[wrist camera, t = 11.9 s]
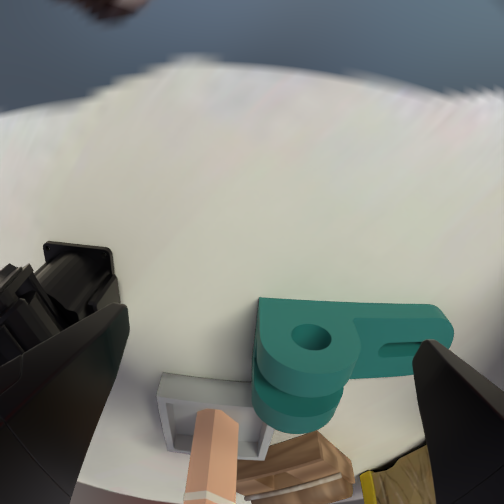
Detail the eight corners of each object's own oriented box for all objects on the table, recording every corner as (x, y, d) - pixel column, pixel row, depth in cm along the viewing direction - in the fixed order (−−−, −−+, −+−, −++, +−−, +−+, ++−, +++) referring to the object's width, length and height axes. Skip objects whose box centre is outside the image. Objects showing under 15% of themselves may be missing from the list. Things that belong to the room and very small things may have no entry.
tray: (171, 430, 32) (167, 450, 29) (162, 372, 27) (156, 396, 25) (263, 439, 32) (264, 460, 30) (279, 384, 28) (280, 408, 25)
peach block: (196, 411, 29) (182, 506, 19) (215, 405, 28) (205, 504, 18) (220, 429, 30) (213, 518, 20) (239, 423, 30) (235, 516, 20)
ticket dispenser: (220, 458, 35) (216, 501, 29) (316, 430, 32) (323, 479, 25) (267, 484, 39) (268, 520, 33) (351, 460, 36) (358, 499, 30)
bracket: (252, 359, 27) (251, 433, 20) (259, 295, 24) (260, 372, 17) (427, 357, 27) (457, 414, 20) (453, 303, 24) (495, 358, 17)
